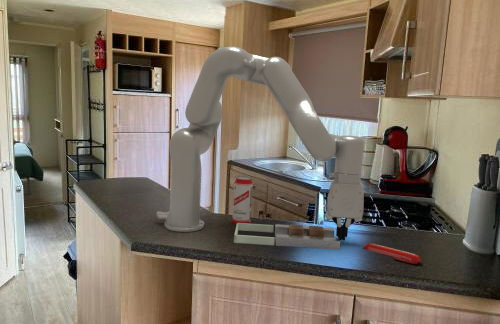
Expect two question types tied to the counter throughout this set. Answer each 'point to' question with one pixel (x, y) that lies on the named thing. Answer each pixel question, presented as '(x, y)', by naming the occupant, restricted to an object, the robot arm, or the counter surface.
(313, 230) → the walnut block
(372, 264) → the counter surface
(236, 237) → the tray
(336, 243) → the slot channel
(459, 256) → the counter surface
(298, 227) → the walnut block
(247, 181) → the beer can
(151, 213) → the counter surface
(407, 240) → the counter surface
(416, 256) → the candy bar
